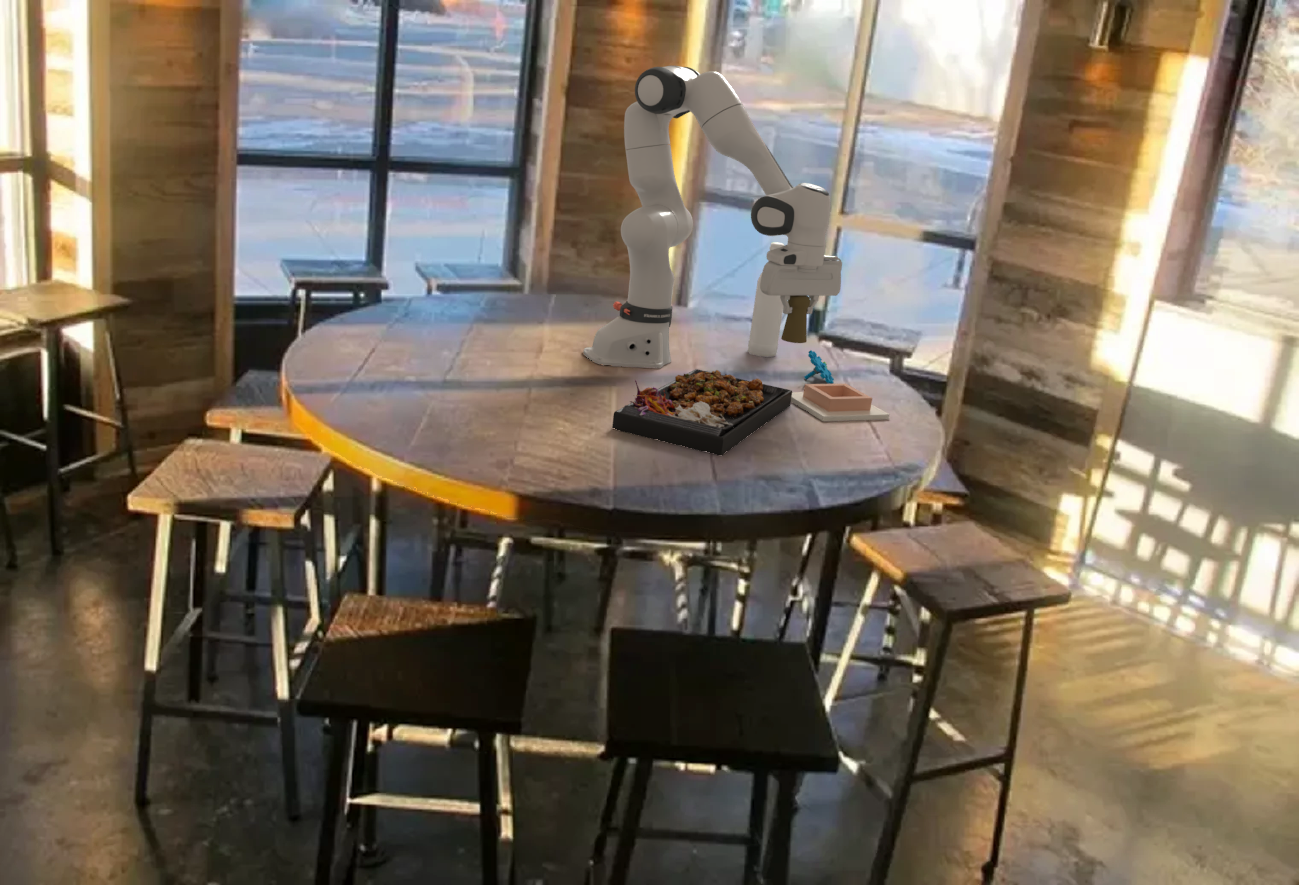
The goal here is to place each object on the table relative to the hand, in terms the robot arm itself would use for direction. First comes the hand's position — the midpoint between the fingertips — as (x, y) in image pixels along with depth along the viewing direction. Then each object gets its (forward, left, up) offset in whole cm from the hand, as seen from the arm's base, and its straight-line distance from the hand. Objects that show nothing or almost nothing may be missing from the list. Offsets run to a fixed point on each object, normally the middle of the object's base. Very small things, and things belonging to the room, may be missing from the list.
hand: (797, 313), depth 289 cm
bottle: (+13, +36, -20) cm, 43 cm away
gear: (+16, +10, -20) cm, 28 cm away
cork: (0, 0, -7) cm, 7 cm away
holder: (+7, -11, -20) cm, 24 cm away
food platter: (-29, -14, -21) cm, 38 cm away
